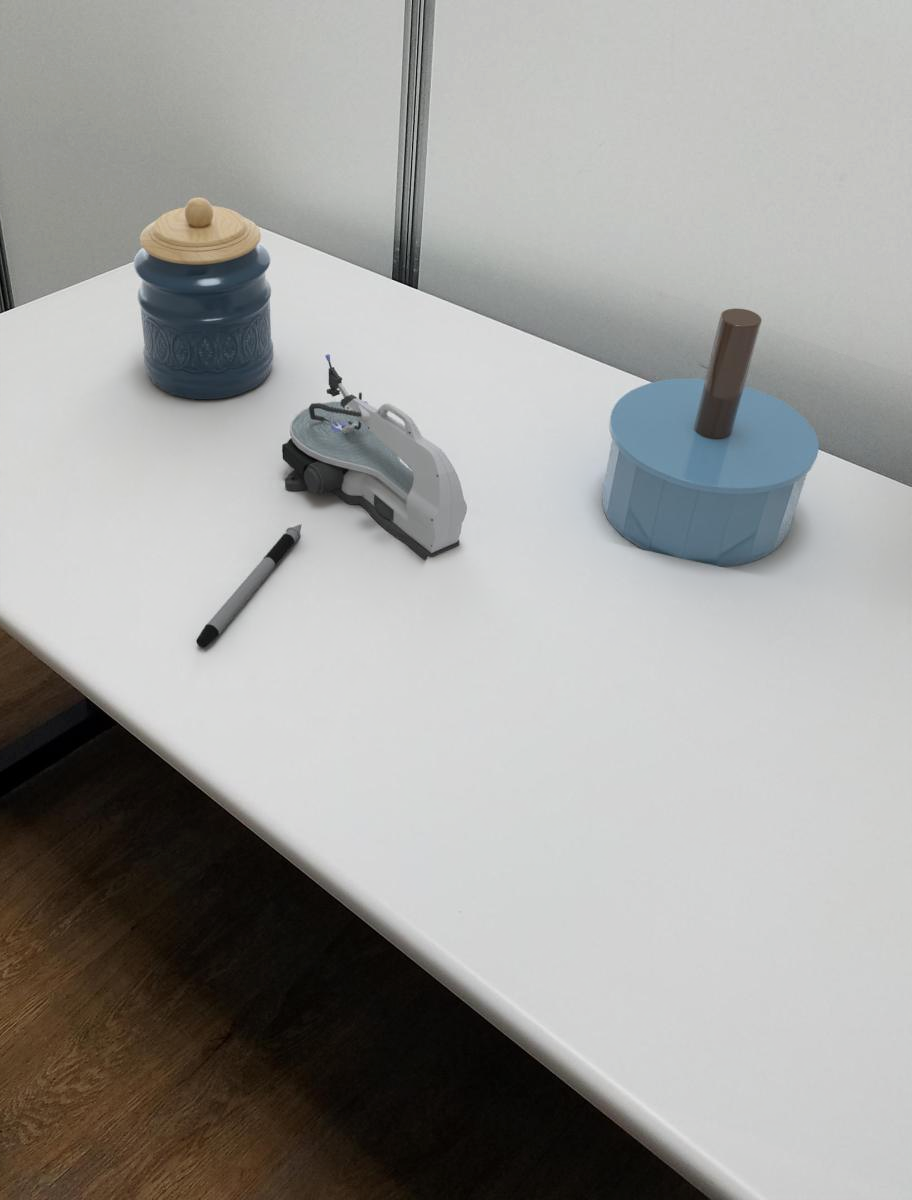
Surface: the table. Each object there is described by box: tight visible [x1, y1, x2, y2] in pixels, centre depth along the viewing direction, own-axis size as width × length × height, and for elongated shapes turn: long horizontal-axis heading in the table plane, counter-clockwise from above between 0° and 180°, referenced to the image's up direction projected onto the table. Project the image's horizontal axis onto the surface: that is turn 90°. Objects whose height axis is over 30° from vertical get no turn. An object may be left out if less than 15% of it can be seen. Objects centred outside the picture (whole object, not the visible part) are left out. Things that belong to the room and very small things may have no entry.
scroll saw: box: [281, 354, 468, 561], centre depth 100 cm, size 20×11×12 cm
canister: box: [133, 197, 274, 400], centre depth 114 cm, size 13×13×18 cm
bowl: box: [601, 438, 808, 567], centre depth 99 cm, size 15×16×8 cm
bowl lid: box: [608, 307, 819, 494], centre depth 93 cm, size 16×16×11 cm
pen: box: [196, 523, 303, 649], centre depth 94 cm, size 1×16×1 cm, turn 154°
